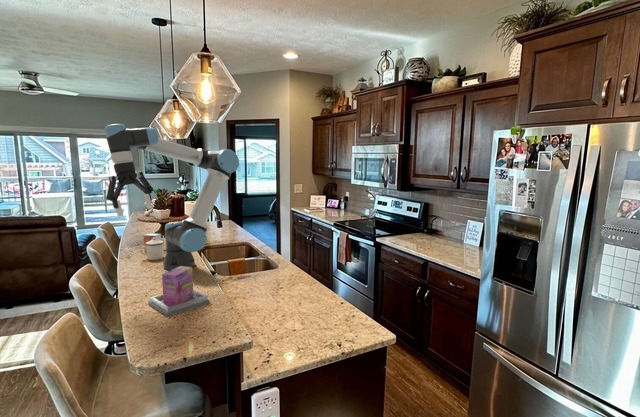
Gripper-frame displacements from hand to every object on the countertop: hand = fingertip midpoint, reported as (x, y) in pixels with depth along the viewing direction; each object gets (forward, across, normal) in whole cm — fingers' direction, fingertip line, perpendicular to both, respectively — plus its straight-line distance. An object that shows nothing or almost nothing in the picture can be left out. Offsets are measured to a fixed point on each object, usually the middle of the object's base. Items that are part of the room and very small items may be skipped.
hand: (135, 212), depth 146 cm
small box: (+32, -39, -51) cm, 71 cm away
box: (+33, +12, +30) cm, 46 cm away
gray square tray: (+34, +12, +30) cm, 46 cm away
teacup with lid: (+32, -27, -36) cm, 56 cm away
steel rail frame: (+33, +12, +30) cm, 46 cm away
